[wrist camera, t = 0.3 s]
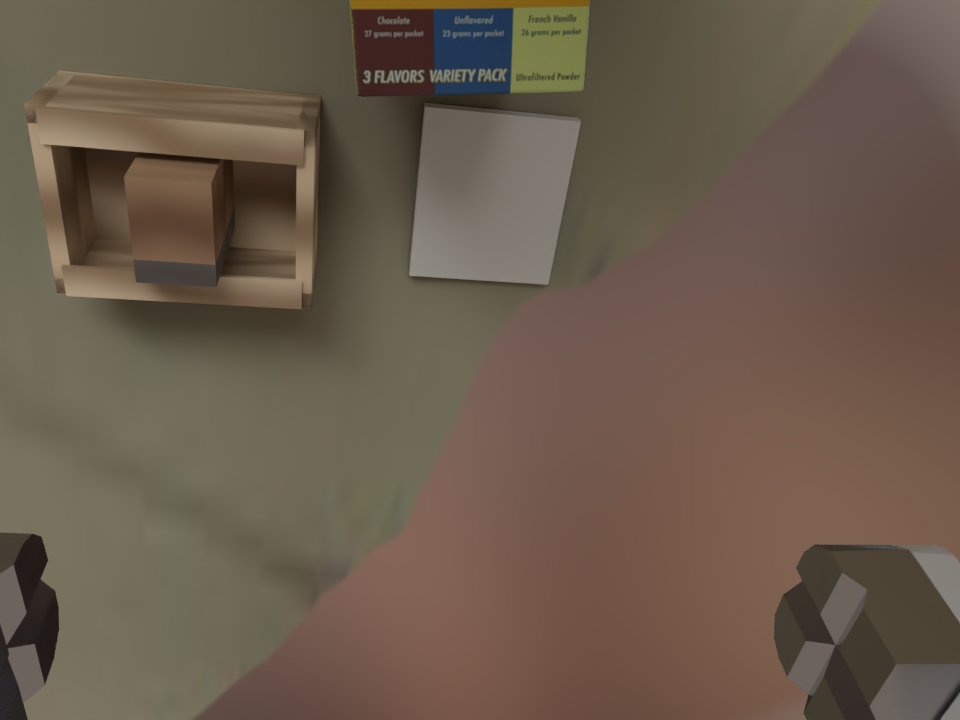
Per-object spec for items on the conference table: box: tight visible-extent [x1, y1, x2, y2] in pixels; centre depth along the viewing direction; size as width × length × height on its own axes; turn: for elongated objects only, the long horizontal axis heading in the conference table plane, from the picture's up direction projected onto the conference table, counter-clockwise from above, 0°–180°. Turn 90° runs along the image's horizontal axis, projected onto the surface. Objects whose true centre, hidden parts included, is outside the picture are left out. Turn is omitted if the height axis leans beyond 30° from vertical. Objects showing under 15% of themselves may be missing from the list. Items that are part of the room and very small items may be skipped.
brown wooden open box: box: [24, 71, 321, 309], centre depth 52 cm, size 12×15×6 cm
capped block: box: [124, 152, 235, 287], centre depth 51 cm, size 6×4×8 cm
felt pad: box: [409, 103, 581, 285], centre depth 57 cm, size 12×10×1 cm
